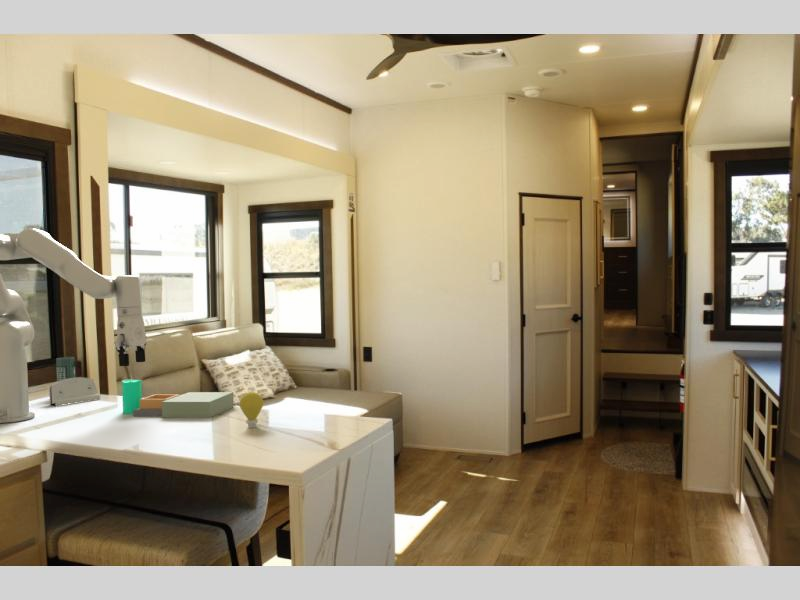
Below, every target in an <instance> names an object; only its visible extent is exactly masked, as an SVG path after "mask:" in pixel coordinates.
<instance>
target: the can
mask: <svg viewBox="0 0 800 600" xmlns="http://www.w3.org/2000/svg"><path fill="white" fill-rule="evenodd" d="M55 363H56V365H55V367H56V368H55V369H56V382H59V381H61V380H65V379H69V378H76V359H75V356H65V357H58V358H57V357H56V358H55Z"/></svg>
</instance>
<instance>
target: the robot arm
mask: <svg viewBox="0 0 800 600" xmlns="http://www.w3.org/2000/svg"><path fill="white" fill-rule="evenodd" d="M28 258H29V259H30V258H32V259H34V260H35V261H36V262H39V263H40V264H42V265H43V266H45V267H46V268H48V269H50V270H51V271H53V272H54V273H55V274H57V275H58V276H59V277H60V278H61V279H64V280H65V281H66V282H68V283H69V284H71V285H72V286H73V287H75V288H76V289H78V290H79V291H81V292H82V293H84V294H85V295H87V296H89V297H91V298H93V299H97V300H100V299H101V300H103V299H110V298H116V299H115V300H116V314H117V323H116V324H117V325H116V327H117V328H116V333H117V334H116V335H117V336H116V337H117V338H116V339H115V341H114V343H113V344H114V346H115V349H116V352H117V354H118V365H119V366H120V367H129V366H130V356H129V353H128V351H129V349H130V348H135V351H134V352H135V362H136V363H146V346H147V339H148V337H147V334H146V327H145V326H146V325H145V321H144V318H143V313H142V299H141V298H142V296H141V281H140V277H139V276H138V275H137V274H136V275H135V274H133V275H130V274H128V275H125V274H124V275H118V276H109V275H102V274H100V273H98V272H97V271H95V270H94V269H92V268H91V267H89V266H88V265H86V264H85V263H84V262H82V261H81V260H80V259H79V258H78V256H77V254H76V253H75V252H74V251H72V250H71V249H69V248H67V246H64V245H63V244H61V243H59V242H58V241H56V240H55V239H54V238H53V237H52V236H51V235H50V233H48V232H47V231H45V230H42V229H38V228H34V227H29V228H25V229H23V230H21V231H20V232H18V233H9V234H3V233H0V261H10V260H17V259H18V260H20V259H28ZM3 278H4V277H3V275H2V274H1V272H0V424H5V423H15V422H22V421H26V420H31V419H33V418H35V417H36V416H35V415H36V414H35V412H33V411H32V412H31V411H30V405H29V401H30V400H29V383H28V382H29V379H28V378H29V376H28V374H29V373H28V361H27V353H26V350H25V348H26V347H27V346H29V345H31V343H32V342H33V340H34V339H35V328H34V325H33V322H32V320H31V317H30V315H29V312H28V310H27V307H26V304H25V302H24V300H23V297H21V295H20V294H19V293H18V292H16V291H15V290H13V289H9V288H7V286H6V284H5V281H4V280H3Z"/></svg>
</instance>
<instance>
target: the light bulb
mask: <svg viewBox="0 0 800 600" xmlns="http://www.w3.org/2000/svg"><path fill="white" fill-rule="evenodd" d="M263 406H264V399H263V398H262V396H261V395H260V394H259V393H257V392H255V391H250V392H247V393H244V394H243V395H242V396H241V398H240V399H239V408H240V410H241V411H242V413H243V415H244V416H245V418H246V422H245V423H246V424H247V427H248V428H252V429H253V428H257V424H258V421H259V420H258V418H257V417H258V416H259V414H260V413H261V410H262V409H263Z"/></svg>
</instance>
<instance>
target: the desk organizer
mask: <svg viewBox="0 0 800 600" xmlns="http://www.w3.org/2000/svg"><path fill="white" fill-rule="evenodd" d="M232 408H234V392H232V391H226V392H225V391H221V392H220V391H212V392H211V391H209V392H208V391H205V392H204V391H199V392H198V391H188V392H186V393H183V394H174V393H173V394H170V393H168V394H165V393H164V394H160V393H159V394H152V395H149V396H146V397H142V399H140V408H138V409H135V410H133V413H132V414H133V417H162V418H164V419H165V418H166V419H168V418H169V419H170V418H172V419H173V418H175V419H177V418H179V419H181V418H184V419H186V418H188V419H189V418H191V419H192V418H193V419H195V418H196V419H200V418H201V419H203V418H204V419H208V418H209V419H211V418H213V417H215V416H217V415H219V414H221V413H224V412H226V411H228V410H230V409H232Z"/></svg>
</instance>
